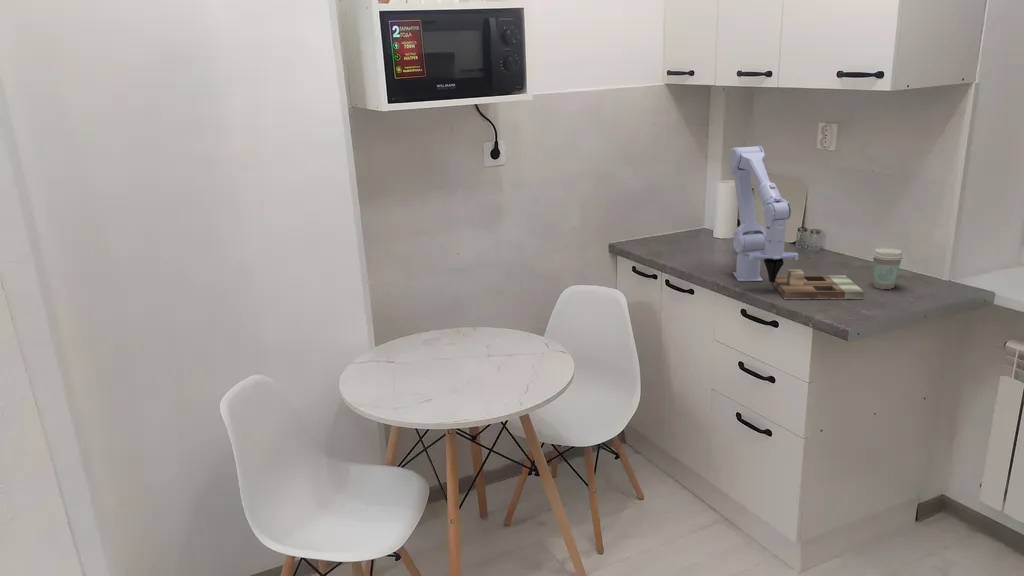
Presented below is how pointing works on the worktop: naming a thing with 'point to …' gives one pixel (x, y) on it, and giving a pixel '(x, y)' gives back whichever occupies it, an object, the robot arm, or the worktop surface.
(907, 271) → the worktop surface
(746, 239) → the robot arm
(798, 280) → the beech block
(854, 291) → the board
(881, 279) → the coffee cup
